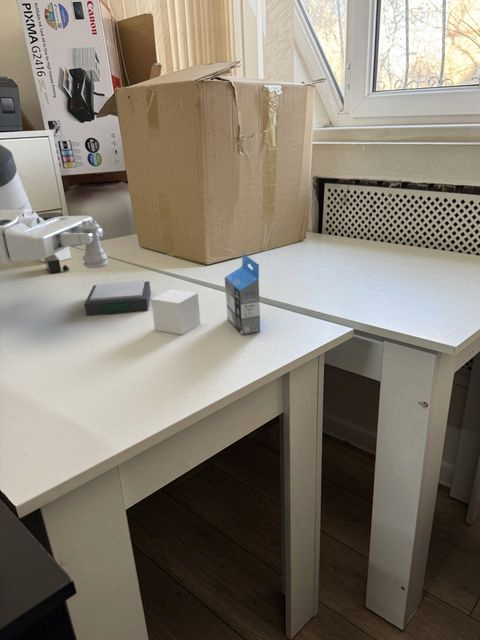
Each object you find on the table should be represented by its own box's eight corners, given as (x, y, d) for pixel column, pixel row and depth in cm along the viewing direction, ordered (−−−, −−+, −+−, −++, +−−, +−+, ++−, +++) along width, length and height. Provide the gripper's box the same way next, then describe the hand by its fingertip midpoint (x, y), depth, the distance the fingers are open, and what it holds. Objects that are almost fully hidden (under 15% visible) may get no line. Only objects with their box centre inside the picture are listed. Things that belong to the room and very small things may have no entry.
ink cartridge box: (226, 318, 97) (222, 255, 91) (245, 315, 98) (242, 252, 93) (241, 335, 89) (237, 267, 84) (261, 332, 90) (259, 264, 85)
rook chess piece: (114, 264, 93) (108, 220, 90) (95, 270, 90) (88, 224, 86) (97, 261, 95) (90, 218, 92) (78, 267, 92) (70, 222, 88)
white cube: (200, 323, 95) (197, 292, 92) (182, 335, 90) (178, 303, 88) (174, 318, 98) (170, 288, 95) (154, 330, 93) (150, 298, 90)
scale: (86, 316, 100) (83, 301, 99) (95, 296, 111) (92, 282, 110) (147, 311, 102) (145, 296, 100) (150, 292, 113) (149, 278, 112)
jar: (33, 262, 140) (23, 217, 134) (49, 254, 147) (40, 212, 142) (63, 262, 138) (54, 217, 133) (77, 254, 146) (69, 212, 140)
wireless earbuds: (51, 274, 128) (48, 262, 126) (46, 268, 133) (43, 256, 132) (70, 271, 130) (67, 259, 129) (64, 265, 136) (62, 253, 134)
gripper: (55, 239, 102) (120, 240, 101) (-6, 266, 84) (73, 268, 82) (49, 207, 100) (116, 207, 98) (-16, 228, 81) (66, 229, 80)
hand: (96, 235), depth 90 cm, fingers closed on rook chess piece, 3 cm apart
